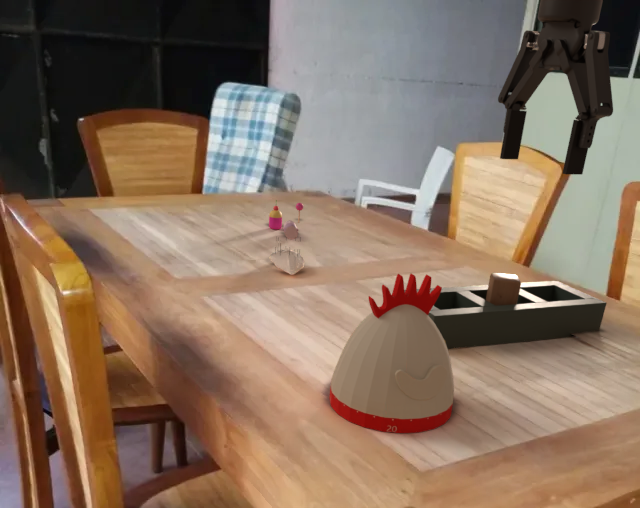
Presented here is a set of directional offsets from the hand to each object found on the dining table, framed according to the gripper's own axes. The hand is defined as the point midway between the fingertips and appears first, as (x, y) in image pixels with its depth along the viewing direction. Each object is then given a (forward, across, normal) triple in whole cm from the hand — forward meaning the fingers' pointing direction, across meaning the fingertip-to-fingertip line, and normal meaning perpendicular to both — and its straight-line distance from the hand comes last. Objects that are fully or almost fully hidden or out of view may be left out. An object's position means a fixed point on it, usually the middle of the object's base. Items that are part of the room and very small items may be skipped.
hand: (538, 166), depth 98 cm
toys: (+23, -63, -12) cm, 68 cm away
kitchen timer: (+23, +20, -32) cm, 44 cm away
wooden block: (+23, +2, -4) cm, 23 cm away
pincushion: (+23, -34, -23) cm, 47 cm away
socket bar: (+23, +2, -4) cm, 23 cm away
